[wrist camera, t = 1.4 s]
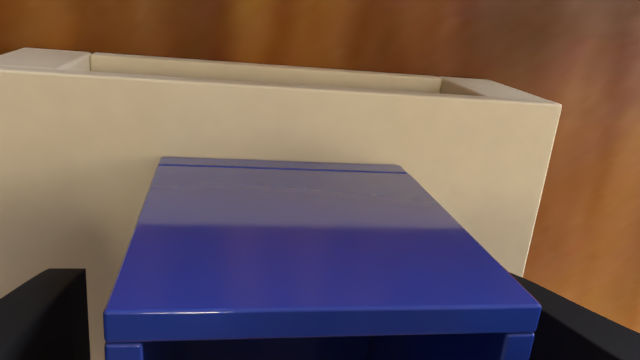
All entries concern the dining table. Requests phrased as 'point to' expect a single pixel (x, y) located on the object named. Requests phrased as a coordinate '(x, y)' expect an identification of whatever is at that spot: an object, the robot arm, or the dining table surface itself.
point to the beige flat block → (243, 147)
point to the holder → (307, 270)
